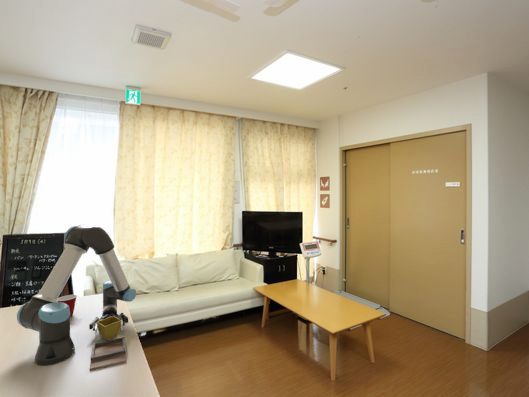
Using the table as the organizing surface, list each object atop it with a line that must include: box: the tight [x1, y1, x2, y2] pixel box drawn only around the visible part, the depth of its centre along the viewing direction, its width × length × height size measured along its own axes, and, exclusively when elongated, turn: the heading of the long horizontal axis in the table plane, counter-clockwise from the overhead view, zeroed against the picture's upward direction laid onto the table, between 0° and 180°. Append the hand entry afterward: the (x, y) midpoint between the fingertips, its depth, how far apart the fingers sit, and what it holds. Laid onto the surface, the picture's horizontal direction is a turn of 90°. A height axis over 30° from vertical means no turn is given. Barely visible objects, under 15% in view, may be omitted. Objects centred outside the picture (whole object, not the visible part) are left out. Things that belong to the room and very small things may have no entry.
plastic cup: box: [57, 294, 78, 318], centre depth 180 cm, size 11×11×12 cm
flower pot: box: [97, 316, 121, 341], centre depth 155 cm, size 9×9×9 cm
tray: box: [89, 336, 127, 372], centre depth 139 cm, size 20×14×2 cm
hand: (109, 329), depth 151 cm, fingers closed on flower pot, 11 cm apart
